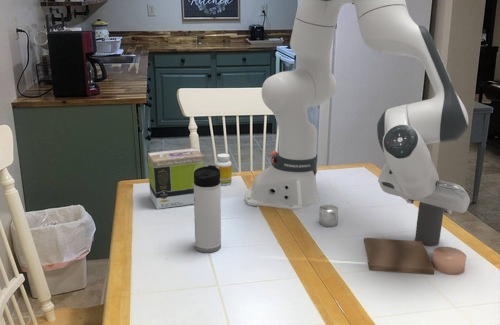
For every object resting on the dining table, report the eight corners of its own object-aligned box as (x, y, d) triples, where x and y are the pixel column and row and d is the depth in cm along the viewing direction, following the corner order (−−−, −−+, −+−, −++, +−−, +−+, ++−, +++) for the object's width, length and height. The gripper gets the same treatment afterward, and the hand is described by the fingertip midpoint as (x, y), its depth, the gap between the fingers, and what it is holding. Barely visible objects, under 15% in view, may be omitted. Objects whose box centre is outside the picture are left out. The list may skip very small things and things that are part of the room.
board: (369, 270, 115) (369, 265, 114) (363, 241, 128) (364, 237, 128) (433, 274, 113) (434, 269, 113) (421, 245, 126) (421, 241, 126)
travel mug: (225, 242, 127) (225, 166, 120) (215, 254, 121) (214, 175, 114) (202, 239, 128) (200, 163, 122) (190, 250, 123) (188, 171, 116)
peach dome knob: (435, 274, 114) (437, 260, 113) (428, 259, 120) (430, 245, 119) (468, 276, 113) (470, 262, 112) (459, 261, 119) (461, 247, 118)
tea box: (197, 192, 160) (196, 146, 155) (206, 203, 151) (205, 155, 146) (149, 197, 155) (147, 151, 150) (155, 210, 146) (153, 160, 141)
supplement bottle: (211, 183, 167) (211, 155, 164) (223, 179, 171) (223, 151, 168) (223, 187, 164) (223, 158, 161) (235, 183, 168) (235, 155, 165)
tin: (319, 229, 135) (320, 211, 133) (318, 221, 139) (318, 204, 138) (338, 229, 134) (339, 211, 133) (336, 221, 139) (337, 204, 138)
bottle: (440, 247, 126) (448, 190, 121) (416, 244, 127) (423, 188, 122) (437, 236, 131) (444, 182, 127) (413, 234, 132) (420, 180, 128)
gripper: (469, 176, 109) (477, 205, 119) (381, 157, 122) (396, 185, 132) (458, 201, 107) (468, 229, 117) (371, 179, 120) (386, 206, 130)
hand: (429, 205), depth 125 cm, fingers open, 8 cm apart
